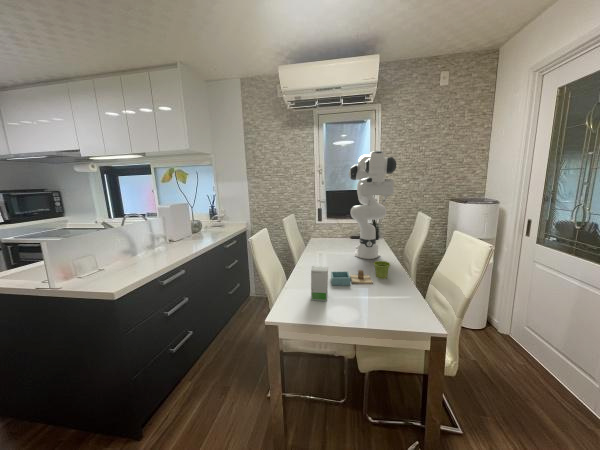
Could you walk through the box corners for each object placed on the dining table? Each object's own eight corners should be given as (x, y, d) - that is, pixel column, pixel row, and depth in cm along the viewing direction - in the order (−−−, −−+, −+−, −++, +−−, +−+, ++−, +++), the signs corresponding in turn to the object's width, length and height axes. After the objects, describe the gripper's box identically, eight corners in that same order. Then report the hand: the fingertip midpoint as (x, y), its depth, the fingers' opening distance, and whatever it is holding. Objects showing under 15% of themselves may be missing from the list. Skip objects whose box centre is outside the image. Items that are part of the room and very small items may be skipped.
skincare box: (310, 300, 124) (310, 270, 121) (312, 294, 130) (311, 265, 127) (327, 301, 122) (327, 271, 119) (328, 295, 129) (327, 266, 126)
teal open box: (331, 279, 148) (330, 271, 147) (348, 279, 148) (348, 271, 147) (332, 286, 138) (332, 278, 137) (350, 286, 138) (350, 278, 137)
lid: (349, 276, 151) (349, 267, 150) (368, 276, 150) (368, 267, 149) (352, 283, 140) (352, 274, 139) (372, 283, 139) (372, 274, 138)
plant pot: (391, 281, 143) (391, 266, 142) (373, 280, 145) (374, 266, 144) (388, 274, 152) (389, 261, 151) (372, 274, 154) (372, 260, 153)
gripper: (390, 178, 151) (390, 201, 154) (358, 179, 149) (358, 203, 151) (396, 178, 145) (395, 202, 147) (362, 179, 142) (362, 204, 145)
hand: (376, 202), depth 149 cm, fingers open, 8 cm apart
